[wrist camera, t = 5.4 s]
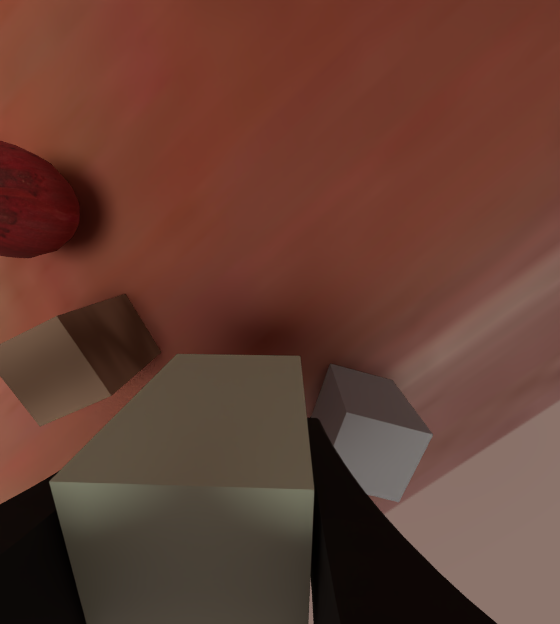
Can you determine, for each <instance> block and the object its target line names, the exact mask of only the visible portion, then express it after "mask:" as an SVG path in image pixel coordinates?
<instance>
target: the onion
mask: <svg viewBox="0 0 560 624" xmlns="http://www.w3.org/2000/svg"><path fill="white" fill-rule="evenodd" d="M79 218H80V205H79V202H78V200H77V197H76V195H75V192H74V190H73V188H72V186H71V185H70V184H69V183H68V182H67V181H66V179H65V178H64V177H63V176H62V175H61V174H60V173H59V172H58V171H57V170H56V169H55V168H54V167H53V165H52V164H51V163H49V162H47V161H46V160H44V159H42V158H40V157H39V156H37V155H35V154H33V153H31V152H29V151H26V150H24V149H22V148H20V147H18V146H16V145H13V144H9V143H6V142H3V141H0V256H6V257H16V258H32V257H35V256H38V255H42V254H46V253H50V252H53V251H57V250H58V249H59V248H60V247H61V246H63V245H64V244H65V243H66V242H67V241H68V240H70V239H71V238H72V237H73V236H74V234H75V231H76V229H77V227H78V225H79Z"/></svg>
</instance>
